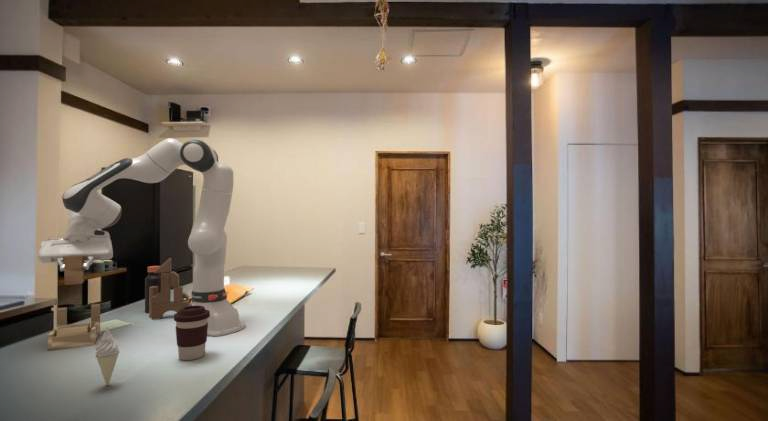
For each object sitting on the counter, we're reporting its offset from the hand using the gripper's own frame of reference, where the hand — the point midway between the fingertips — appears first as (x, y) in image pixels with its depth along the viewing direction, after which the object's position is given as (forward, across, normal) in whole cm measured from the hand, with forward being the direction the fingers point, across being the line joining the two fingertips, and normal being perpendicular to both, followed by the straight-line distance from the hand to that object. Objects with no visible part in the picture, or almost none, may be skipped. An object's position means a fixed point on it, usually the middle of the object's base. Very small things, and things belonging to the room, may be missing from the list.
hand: (74, 269), depth 129 cm
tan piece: (+16, 0, +20) cm, 25 cm away
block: (+3, 0, +4) cm, 5 cm away
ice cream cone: (+48, +14, -12) cm, 51 cm away
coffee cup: (+40, +34, -4) cm, 53 cm away
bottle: (-8, +22, +44) cm, 50 cm away
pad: (+4, +7, +31) cm, 32 cm away
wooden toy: (+1, +28, +35) cm, 45 cm away
